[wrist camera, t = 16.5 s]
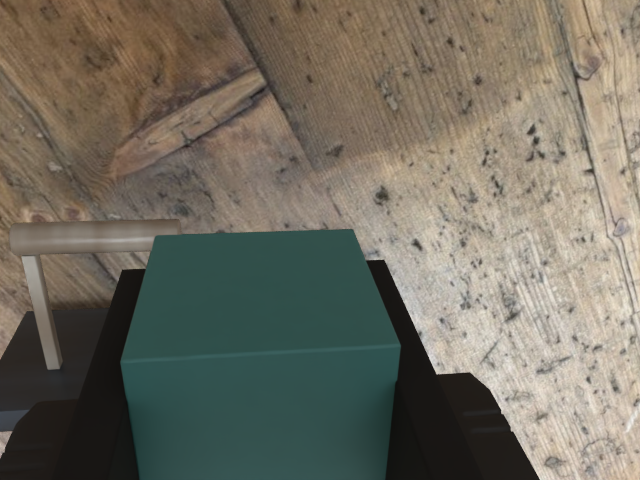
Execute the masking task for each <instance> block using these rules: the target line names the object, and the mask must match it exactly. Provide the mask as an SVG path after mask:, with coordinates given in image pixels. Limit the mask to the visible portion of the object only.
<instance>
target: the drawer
mask: <svg viewBox="0 0 640 480" xmlns="http://www.w3.org/2000/svg"><path fill="white" fill-rule="evenodd" d="M180 234H182V231H181V223H180V220H179V219H159V220H117V221H76V222H34V223H14V224H13V225H12V226H11V228H10V232H9V245H10V249H11V251H12V253H13V254H14V255H22V256H21V258H22V262H23V267H24V271H25V275H26V279H27V284H28V288H29V292H30V297H31V301H32V305H33V309H34V311H27V312H26V314H25V316H24V317H23V319H22V321H21V323H20V325H19V326H18V328H17V330H16V332H15V334H14V336H13V337H12V339H11V341H10V343H9V345H8V346H7V348H6V350H5V352H4V354H3V356H2V357H1V359H0V432H5V431H13V429H14V427H15V425H16V423H17V422H18V421H19V420H20V419H21V418H22V417H23V416H24V415H25V414H26V413H27V412H28V411H29V410H30V409H31V408H32V407H33V406H34V405H35V404H36V403H37V402H40V401H56V400H72V399H79V396H80V393H81V390H82V387H83V384H84V381H85V378H86V375H87V372H88V369H89V366H90V363H91V360H92V357H93V355H94V352H95V349H96V346H97V343H98V340H99V337H100V334H101V331H102V328H103V325H104V322H105V319H106V316H107V313H108V310H109V308H94V309H70V310H51V305H50V300H49V296H48V291H47V286H46V282H45V277H44V273H43V268H42V263H41V259H40V255H44V254H77V253H110V252H142V251H151V249H152V245H153V242H154V238H155V236H157V235H180Z"/></svg>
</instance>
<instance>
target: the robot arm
mask: <svg viewBox="0 0 640 480" xmlns="http://www.w3.org/2000/svg"><path fill="white" fill-rule="evenodd" d="M366 262H367V265H368V267H369V269H370V272H371V274H372V277H373V279H374V282H375V284H376V286H377V289H378V291H379V294H380V296H381V299H382V301H383V303H384V306H385V308H386V311H387V313H388V316H389V318H390V321H391V323H392V325H393V328H394V330H395V333H396V335H397V338H398V340H399V342H400V345H401V349H400V359H399V368H398V377H397V381H396V383H395V392H394V401H393V411H392V420H391V430H390V439H389V448H388V458H387V467H386V477H385V480H540V479H539V477H538V476H537V474H536V472H535V470H534V468H533V467H532V465H531V463H530V461H529V459H528V458H527V456H526V454H525V452H524V451H523V449H522V447H521V445H520V443H519V442H518V440H517V438H516V436H515V434H514V433H513V432H511V429H510V425H509V424H508V422H507V420H506V418H505V416H504V415H503V414H501V409H500V407H499V406H498V404H497V402H496V400H495V398H494V397H493V395H492V393H491V391H490V390H489V389H488V388H487V387H486V386H485V385H484V384H482V383H481V382H480V381H479V380H478V379H477V378H475V377H474V376H473V375H472V374H471V373H454V374H438V375H436V372H435V370H434V368H433V366H432V364H431V362H430V359H429V357H428V355H427V353H426V351H425V348H424V346H423V344H422V342H421V340H420V337H419V335H418V333H417V331H416V329H415V326H414V324H413V322H412V320H411V318H410V315H409V313H408V311H407V309H406V307H405V304H404V302H403V300H402V298H401V296H400V293H399V291H398V289H397V287H396V285H395V282H394V280H393V278H392V276H391V274H390V271H389V269H388V267H387V265H386V263H385V261H384V260H367V261H366ZM145 271H146V269H129V270H122V272H121V275H120V278H119V281H118V284H117V287H116V290H115V293H114V296H113V299H112V302H111V305H110V307H109V310H108V313H107V316H106V319H105V322H104V325H103V328H102V331H101V334H100V337H99V340H98V343H97V346H96V349H95V352H94V355H93V357H92V360H91V363H90V366H89V369H88V372H87V375H86V378H85V381H84V384H83V387H82V390H81V393H80V396H79V399H72V400H56V401H40V402H37V403H36V404H35V405H34V406H33V407H32V408H31V409H30V410H29V411H28V412H27V413H26V414H25V415H24V416H23V417H22V418H21V419H20V420H19V421H18V422H17V423H16V425H15V427H14V429H13V432H12V434H11V436H10V438H9V441H8V443H7V445H6V447H5V453H3V454H2V456H1V458H0V480H139V476H138V470H137V464H136V457H135V451H134V444H133V438H132V431H131V425H130V419H129V412H128V406H127V399H126V395H125V389H124V382H123V376H122V369H121V363H120V361H121V358H122V354H123V350H124V347H125V343H126V339H127V336H128V332H129V329H130V325H131V321H132V318H133V314H134V311H135V307H136V303H137V300H138V296H139V292H140V289H141V285H142V282H143V278H144V274H145Z"/></svg>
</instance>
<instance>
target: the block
mask: <svg viewBox="0 0 640 480" xmlns="http://www.w3.org/2000/svg"><path fill="white" fill-rule="evenodd" d="M400 349H401V345H400V342H399V340H398V338H397V335H396V333H395V330H394V328H393V325H392V323H391V321H390V318H389V316H388V313H387V311H386V308H385V306H384V303H383V301H382V299H381V296H380V294H379V291H378V289H377V286H376V284H375V282H374V279H373V277H372V274H371V272H370V269H369V267H368V265H367V262H366V260H365V257H364V255H363V252H362V250H361V247H360V245H359V243H358V240H357V238H356V235H355V233H354V230H352V229H340V230H308V231H276V232H244V233H212V234H180V235H157V236H155V238H154V242H153V245H152V249H151V253H150V256H149V260H148V264H147V267H146V271H145V274H144V278H143V282H142V285H141V289H140V292H139V296H138V300H137V303H136V307H135V311H134V314H133V318H132V321H131V325H130V329H129V332H128V336H127V339H126V343H125V347H124V350H123V354H122V358H121V361H120V363H121V369H122V376H123V382H124V389H125V395H126V399H127V406H128V412H129V419H130V425H131V431H132V438H133V444H134V451H135V457H136V464H137V470H138V476H139V480H385V477H386V467H387V458H388V448H389V439H390V430H391V420H392V411H393V401H394V392H395V383H396V381H397V377H398V368H399V359H400Z"/></svg>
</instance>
